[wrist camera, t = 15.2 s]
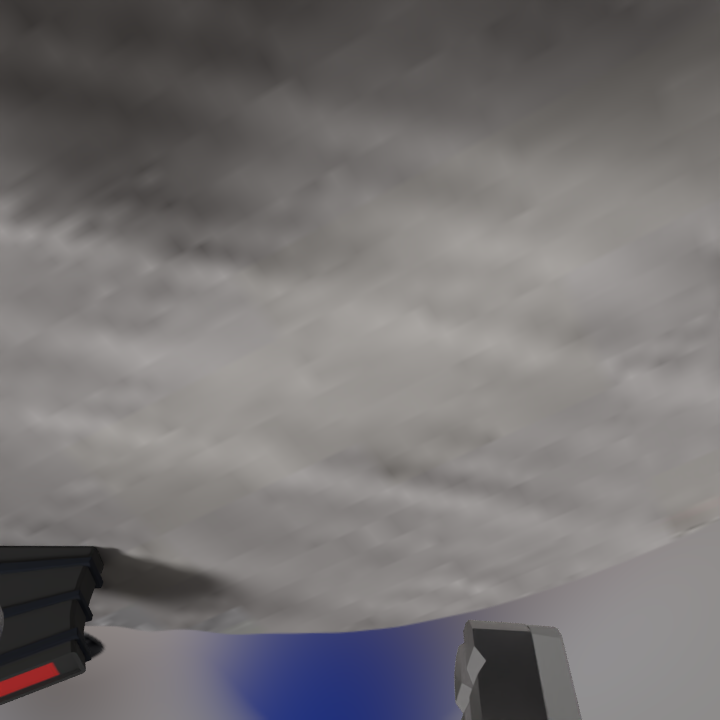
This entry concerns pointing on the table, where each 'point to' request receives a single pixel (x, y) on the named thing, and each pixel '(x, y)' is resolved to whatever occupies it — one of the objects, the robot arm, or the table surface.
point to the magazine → (44, 615)
